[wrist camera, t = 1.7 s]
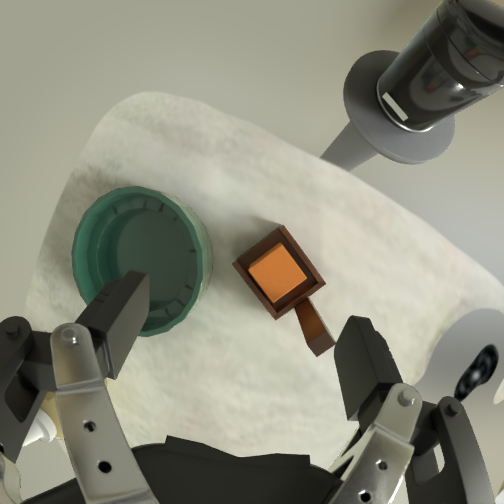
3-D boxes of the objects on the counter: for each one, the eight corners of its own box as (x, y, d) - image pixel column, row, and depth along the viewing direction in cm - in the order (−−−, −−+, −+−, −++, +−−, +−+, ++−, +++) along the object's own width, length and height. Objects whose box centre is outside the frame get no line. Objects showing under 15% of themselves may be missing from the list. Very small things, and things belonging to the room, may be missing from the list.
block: (301, 271, 31) (307, 278, 27) (272, 293, 32) (273, 303, 28) (280, 241, 31) (282, 244, 27) (250, 264, 31) (248, 270, 27)
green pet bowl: (161, 165, 31) (143, 155, 26) (240, 271, 32) (235, 281, 27) (78, 245, 33) (52, 249, 27) (145, 342, 33) (127, 360, 28)
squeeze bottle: (123, 387, 34) (57, 467, 16) (95, 405, 35) (33, 474, 17) (87, 342, 34) (2, 402, 16) (62, 365, 35) (-12, 420, 17)
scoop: (329, 289, 32) (362, 324, 20) (282, 323, 32) (290, 374, 20) (282, 224, 31) (292, 224, 19) (233, 261, 32) (215, 282, 20)
